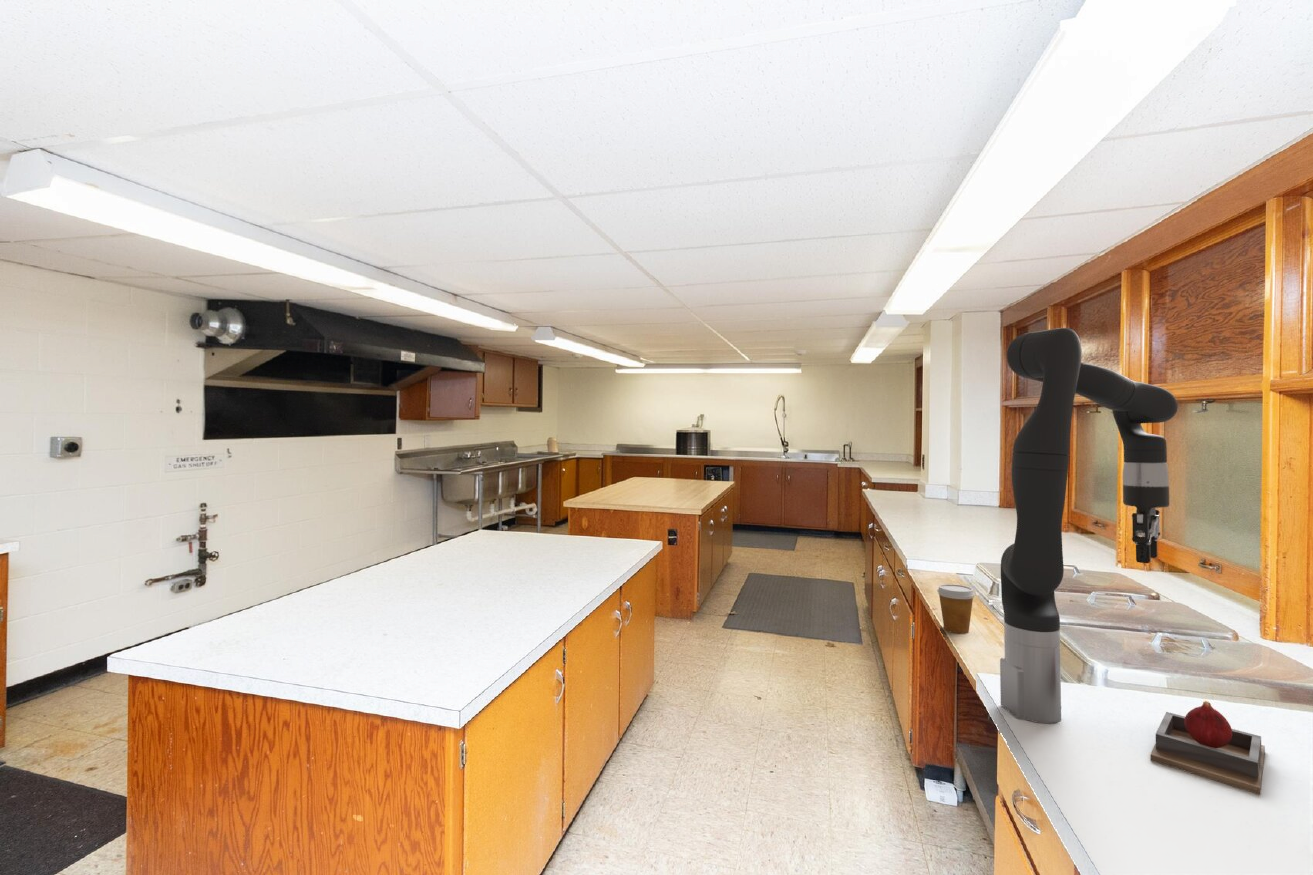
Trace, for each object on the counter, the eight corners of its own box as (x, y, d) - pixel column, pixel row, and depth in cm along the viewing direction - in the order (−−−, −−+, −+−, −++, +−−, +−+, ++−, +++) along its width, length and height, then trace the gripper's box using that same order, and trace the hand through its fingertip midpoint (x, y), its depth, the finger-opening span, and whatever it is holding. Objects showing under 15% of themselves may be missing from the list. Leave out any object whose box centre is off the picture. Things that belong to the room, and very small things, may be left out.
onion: (1242, 760, 93) (1241, 711, 93) (1200, 756, 94) (1200, 708, 95) (1215, 742, 99) (1214, 696, 99) (1176, 739, 100) (1176, 693, 100)
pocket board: (1260, 794, 86) (1259, 771, 86) (1150, 760, 95) (1150, 739, 95) (1264, 751, 98) (1264, 731, 98) (1166, 724, 107) (1166, 706, 107)
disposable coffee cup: (976, 628, 164) (975, 586, 164) (974, 637, 156) (973, 593, 156) (939, 622, 169) (939, 582, 169) (935, 631, 161) (935, 589, 161)
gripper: (1163, 486, 114) (1165, 567, 114) (1174, 482, 123) (1175, 557, 123) (1115, 484, 120) (1117, 562, 119) (1129, 481, 129) (1131, 553, 129)
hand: (1147, 559), depth 121 cm, fingers open, 8 cm apart
